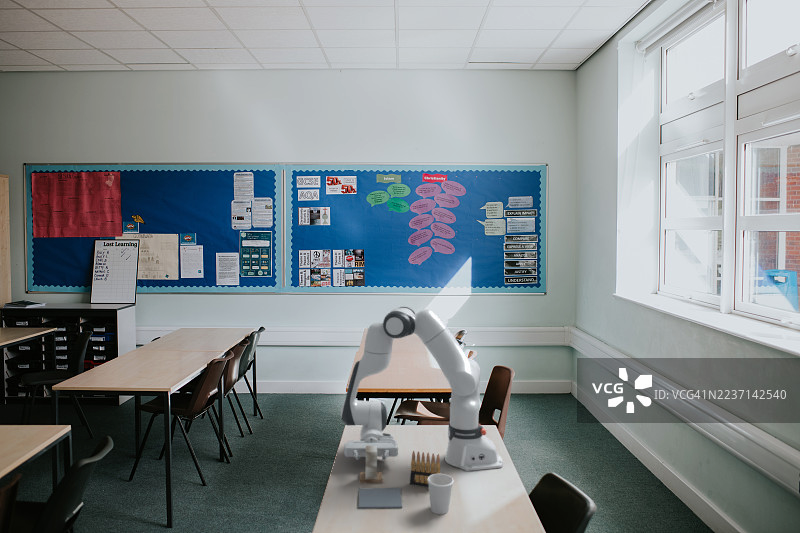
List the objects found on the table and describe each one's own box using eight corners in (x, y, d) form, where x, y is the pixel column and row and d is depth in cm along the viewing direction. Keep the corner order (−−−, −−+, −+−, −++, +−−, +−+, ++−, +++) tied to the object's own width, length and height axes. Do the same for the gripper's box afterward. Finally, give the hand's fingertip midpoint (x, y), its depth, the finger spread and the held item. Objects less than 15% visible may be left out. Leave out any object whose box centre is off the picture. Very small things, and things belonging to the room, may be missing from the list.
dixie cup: (434, 518, 161) (434, 487, 160) (422, 505, 168) (422, 475, 168) (457, 513, 164) (458, 482, 163) (444, 500, 172) (445, 471, 171)
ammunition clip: (409, 484, 182) (410, 451, 181) (410, 482, 184) (411, 449, 183) (439, 489, 180) (440, 455, 179) (440, 486, 181) (441, 453, 181)
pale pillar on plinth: (381, 475, 189) (382, 445, 188) (382, 483, 183) (382, 452, 182) (359, 475, 188) (360, 445, 188) (359, 483, 182) (360, 452, 182)
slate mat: (400, 489, 178) (400, 488, 178) (402, 508, 166) (402, 506, 166) (359, 490, 177) (359, 488, 177) (358, 508, 166) (358, 506, 165)
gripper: (344, 434, 201) (342, 449, 187) (397, 434, 202) (399, 449, 189) (344, 450, 202) (342, 466, 188) (396, 450, 203) (398, 466, 189)
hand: (371, 457), depth 188 cm, fingers open, 8 cm apart
